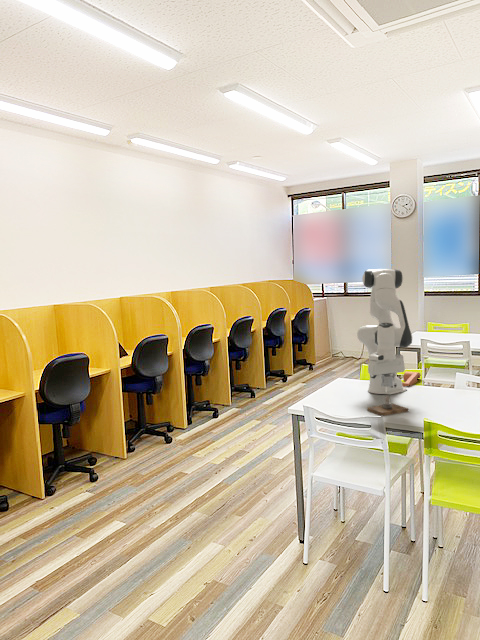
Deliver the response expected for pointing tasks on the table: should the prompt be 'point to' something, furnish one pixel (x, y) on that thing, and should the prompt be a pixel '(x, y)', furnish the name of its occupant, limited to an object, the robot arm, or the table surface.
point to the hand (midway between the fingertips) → (386, 382)
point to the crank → (410, 378)
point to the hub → (387, 380)
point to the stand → (387, 408)
